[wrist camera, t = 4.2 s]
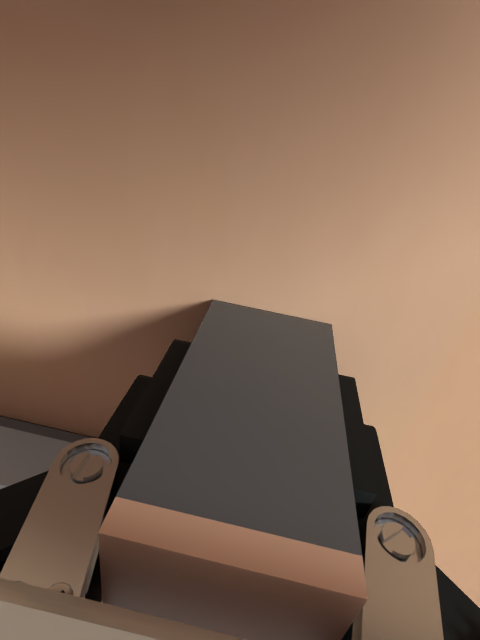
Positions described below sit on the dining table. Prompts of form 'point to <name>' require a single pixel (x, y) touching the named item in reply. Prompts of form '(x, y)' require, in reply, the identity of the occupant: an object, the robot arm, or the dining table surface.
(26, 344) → the dining table surface
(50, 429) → the outlet box
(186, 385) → the charger
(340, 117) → the dining table surface
